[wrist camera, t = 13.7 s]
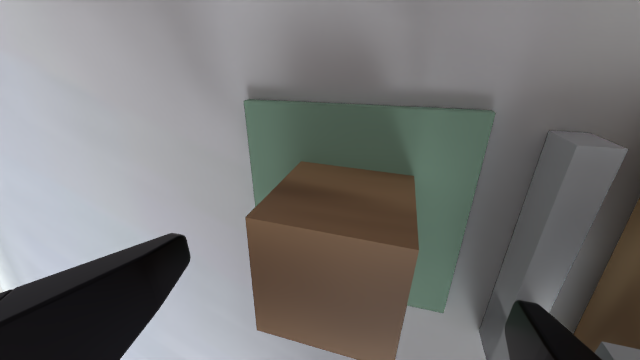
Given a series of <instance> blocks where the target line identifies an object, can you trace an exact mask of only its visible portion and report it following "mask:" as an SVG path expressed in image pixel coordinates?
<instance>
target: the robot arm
mask: <svg viewBox="0 0 640 360" xmlns="http://www.w3.org/2000/svg"><path fill="white" fill-rule="evenodd" d="M189 262H190V252H189V248H188V244H187V240H186V237H185V236H184V235H181V234H176V233H170V234H167V235H164V236H161V237H158V238H156V239H153V240H150V241H147V242H144V243H141V244H139V245H136V246H133V247H130V248H127V249H124V250H122V251H119V252H116V253H113V254H110V255H107V256H105V257H102V258H99V259H96V260H93V261H90V262H88V263H85V264H82V265H79V266H76V267H73V268H70V269H68V270H65V271H62V272H59V273H56V274H53V275H51V276H48V277H45V278H42V279H39V280H36V281H34V282H31V283H28V284H25V285H22V286H19V287H17V288H15V289H14V290H8V291H5V292H2V293H0V360H120V359H121V357H122V356H123V355H124V354H125V352H126V351H127V350H128V348H129V347H130V346H131V345H132V343H133V342H134V341H135V339H136V338H137V337H138V336H139V334H140V333H141V332H142V330H143V329H144V328H145V327H146V325H147V324H148V323H149V322H150V320H151V319H152V318H153V316H154V315H155V314H156V312H157V311H158V310H159V308H160V307H161V305H162V304H163V303H164V301H165V300H166V298H167V296H168V295H169V293H170V292H171V290H172V289H173V287H174V286H175V284H176V283H177V281H178V280H179V278H180V276H181V275H182V273H183V272H184V270H185V269H186V267H187V266H188V264H189ZM505 338H506V343H507V348H508V354H509V359H510V360H602V359H601V358H600V357H599V356H597V355H596V354H595V353H594V352H593V351H592V350H591V349H589V348H588V347H587V346H586V345H585V344H584V343H583V342H581V341H580V340H579V339H578V338H577V337H576V336H575V335H573V334H572V333H571V332H570V331H569V330H568V329H567V328H565V327H564V326H563V325H562V324H561V323H560V322H559V321H557V320H556V319H555V318H554V317H553V316H552V315H551V314H550V313H548V312H547V311H546V310H545V309H544V308H543V307H541V306H540V305H539V304H537V303H534V302H528V301H523V300H516V301H515V302H514V303H513V306H512V308H511V311H510V313H509V316H508V318H507V321H506V323H505Z"/></svg>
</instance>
